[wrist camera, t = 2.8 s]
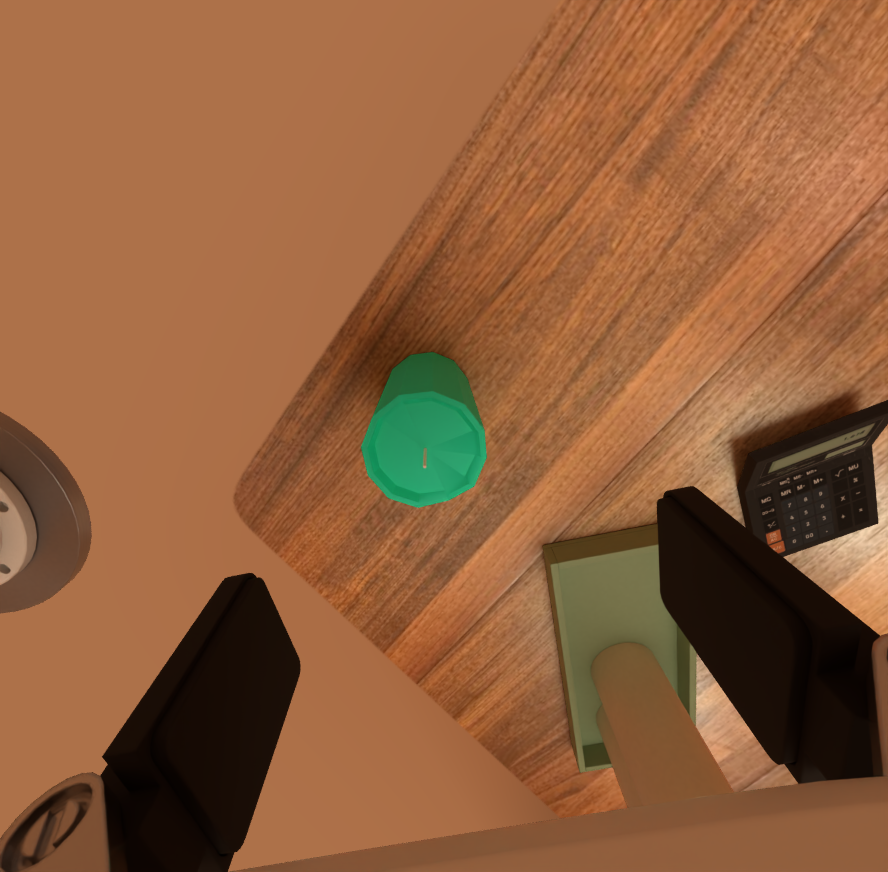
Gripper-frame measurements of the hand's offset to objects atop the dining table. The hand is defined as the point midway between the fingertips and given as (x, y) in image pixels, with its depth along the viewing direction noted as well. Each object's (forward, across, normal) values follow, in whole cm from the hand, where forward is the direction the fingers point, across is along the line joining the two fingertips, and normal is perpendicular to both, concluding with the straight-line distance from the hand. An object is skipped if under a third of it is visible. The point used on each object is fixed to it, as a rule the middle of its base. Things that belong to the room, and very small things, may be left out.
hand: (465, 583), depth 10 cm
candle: (+21, +1, +1) cm, 21 cm away
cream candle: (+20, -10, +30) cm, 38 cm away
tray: (+21, -10, +28) cm, 36 cm away
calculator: (+21, -26, +14) cm, 36 cm away
